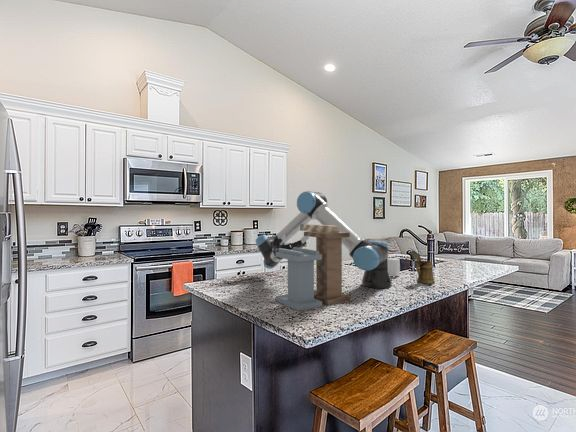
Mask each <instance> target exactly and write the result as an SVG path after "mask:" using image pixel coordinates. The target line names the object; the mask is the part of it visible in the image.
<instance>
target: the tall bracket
mask: <svg viewBox="0 0 576 432" xmlns="http://www.w3.org/2000/svg"><path fill="white" fill-rule="evenodd" d="M303 236H309V238H310V237H312V238H315V239H316V240H315V242H316V244H315V246H316V247H315V249H316V250H315V251H319V254H321V255H322V259H321V260H315V261H316V265H315V266H316V267H315V268H316V271H315V273H316V274H315V275H316V277H315V279H316V280H315V281H316V284H315V285H316V286H315V287H316V289H314V299H317V300H319V301H322V305H323V304H324V305H326V306H331V305H337V304H342V303H346V302H347V303H348V302H350V301H351V296H349V295H346V294H343V281H342V280H343V276H342V275H343V273H342V272H343V271H342V270H343V256H342V255H343V251H342V249H343V246H342V245H343V244H342V238H346V237H350V233H348V232H339V233H326V232H315V231H303Z"/></svg>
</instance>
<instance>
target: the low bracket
mask: <svg viewBox="0 0 576 432" xmlns="http://www.w3.org/2000/svg"><path fill="white" fill-rule="evenodd" d="M276 257H279V258H283V259H284V260H287V294H281V295H276V296H275V301H276V302H278V303H280V304H282V305H284V306H287V307H289V308H290V309H292V310H295V311H297V312H300V311H305V310H310V309H315V308H321V307H323V303H322V301H319V300H317V299H314V290H315V261H316V260H321V259H322V255H321V254H319V251H316V250H314V249H308V248H303V247H300V248H297V247H293V250H288V249H283V248H279V252H276ZM283 259H282V260H283Z"/></svg>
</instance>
